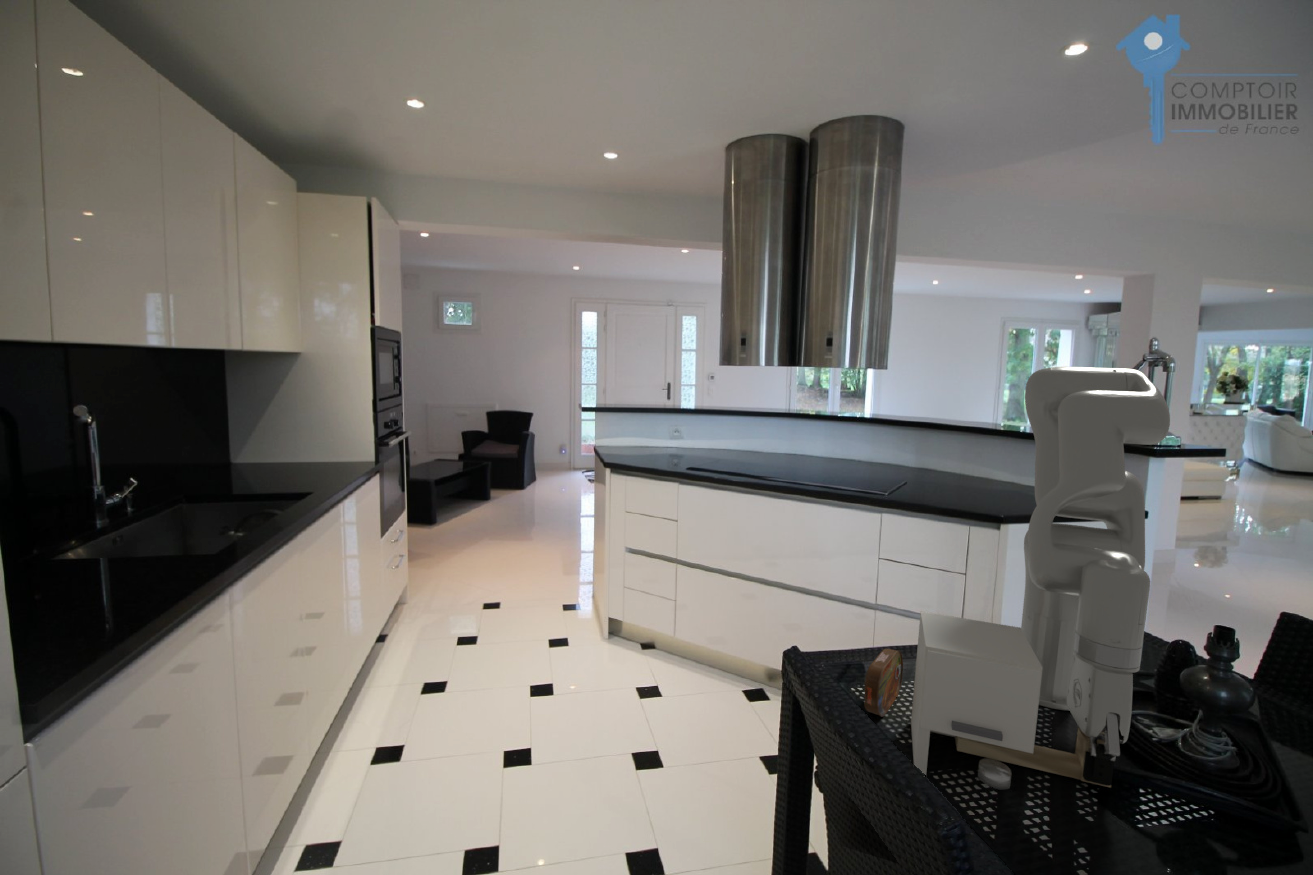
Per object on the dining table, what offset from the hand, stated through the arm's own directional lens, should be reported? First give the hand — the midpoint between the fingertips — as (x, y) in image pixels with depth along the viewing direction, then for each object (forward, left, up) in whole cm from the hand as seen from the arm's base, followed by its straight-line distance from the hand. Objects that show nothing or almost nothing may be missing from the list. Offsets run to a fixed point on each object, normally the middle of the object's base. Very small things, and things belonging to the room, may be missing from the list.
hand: (1091, 771), depth 84 cm
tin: (-9, -28, -2) cm, 30 cm away
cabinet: (+3, -17, -1) cm, 17 cm away
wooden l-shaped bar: (0, -8, -1) cm, 8 cm away
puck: (+6, -13, -1) cm, 15 cm away
